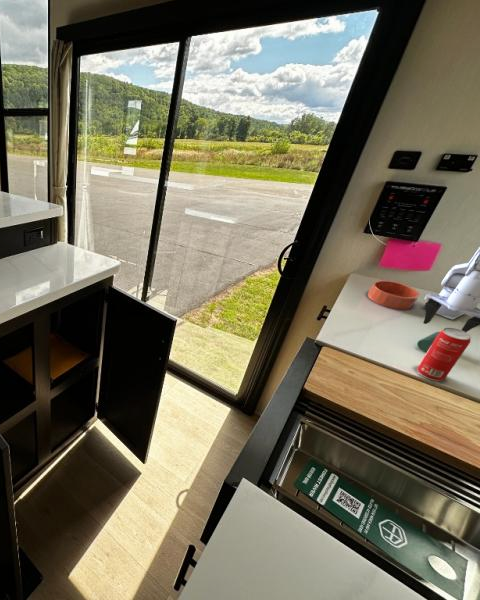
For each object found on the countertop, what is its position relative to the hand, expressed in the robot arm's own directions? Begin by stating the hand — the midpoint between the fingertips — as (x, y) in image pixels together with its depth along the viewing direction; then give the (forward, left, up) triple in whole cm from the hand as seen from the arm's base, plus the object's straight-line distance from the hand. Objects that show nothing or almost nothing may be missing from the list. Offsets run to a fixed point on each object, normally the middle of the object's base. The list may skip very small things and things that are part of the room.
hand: (441, 329), depth 97 cm
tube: (0, 0, -7) cm, 7 cm away
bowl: (-19, -21, -7) cm, 29 cm away
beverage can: (+15, +6, -7) cm, 18 cm away
